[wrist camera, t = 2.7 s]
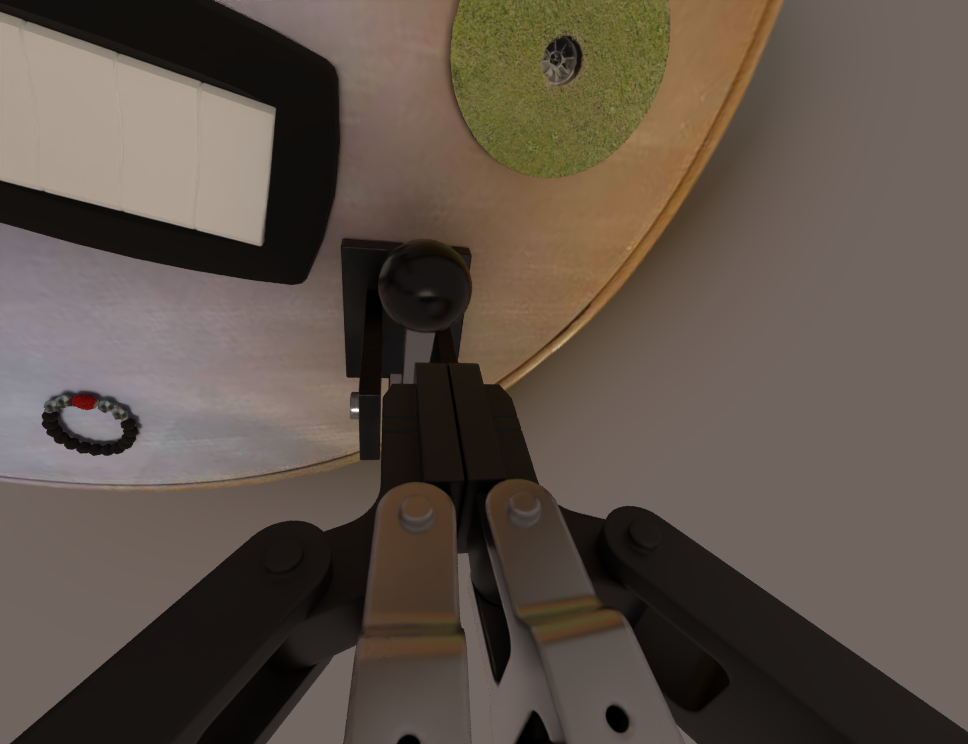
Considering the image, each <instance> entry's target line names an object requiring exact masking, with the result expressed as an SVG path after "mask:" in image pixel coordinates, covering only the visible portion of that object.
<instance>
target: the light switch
mask: <svg viewBox="0 0 968 744" xmlns="http://www.w3.org/2000/svg"><path fill="white" fill-rule="evenodd" d="M339 144H340V135H339V93H338V77H337V73H336V70H335V67H334V66H333V65H332V64H331V63H330V62H329V61H328V60H326V59H325V58H323V57H321V56H319V55H318V54H316V53H314V52H312V51H310V50H309V49H307V48H305V47H303V46H301V45H299V44H298V43H296V42H294V41H292V40H290V39H289V38H287V37H285V36H283V35H281V34H280V33H278V32H276V31H274V30H272V29H271V28H269V27H267V26H265V25H262V24H260V23H258V22H256V21H254V20H252V19H250V18H248V17H246V16H244V15H242V14H240V13H238V12H236V11H234V10H232V9H230V8H228V7H226V6H224V5H222V4H219V3H217V2H215V1H213V0H0V223H4V224H8V225H11V226H15V227H18V228H22V229H25V230H29V231H32V232H36V233H40V234H43V235H47V236H50V237H54V238H57V239H61V240H64V241H68V242H71V243H75V244H79V245H83V246H87V247H91V248H95V249H99V250H103V251H108V252H112V253H116V254H120V255H124V256H128V257H132V258H136V259H141V260H146V261H151V262H155V263H160V264H165V265H170V266H175V267H180V268H184V269H189V270H195V271H201V272H207V273H213V274H219V275H225V276H230V277H236V278H242V279H248V280H256V281H264V282H272V283H280V284H289V285H295V284H301V283H303V282H304V281H305V280H306V279H307V277H308V274H309V272H310V270H311V267H312V265H313V262H314V260H315V258H316V255H317V253H318V250H319V248H320V246H321V243H322V241H323V237H324V234H325V230H326V226H327V222H328V218H329V214H330V211H331V207H332V203H333V199H334V195H335V185H336V175H337V165H338V154H339Z"/></svg>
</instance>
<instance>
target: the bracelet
mask: <svg viewBox="0 0 968 744" xmlns="http://www.w3.org/2000/svg"><path fill="white" fill-rule="evenodd" d="M82 399H83V400H82ZM99 400H100V399H99ZM99 400H97V399H95V398H94V397H93V396H90V395H78V396H77V395H76V396H74V397H73V396H72V398H71V397H69V396H68V395H66V394H64V395H62V396H60V397H57V398H56V399H55V400H49V401H47V402H45V405H44V408H45V410H44V413H43V414H42V419H43V422H42V426H43V427H44V428H45V429H47V432H46V433H47V434H48V435H49V436H51V437H54V441H55V442H56V443H58V444H64V446H65V447H66V448H67V449H71V450H73V449H76V450H77V451H78V452H79V453H88V452H89V453H90V454H91V455H93V456H95V455H101V454H103V455H105V456H109V455H112V454H113V453H115V454H119V453H123V451H124V450H125V449H128V448H130V447H131V446H132V445H133V442H134V441H135V440H136V434H137V433H138V429H137V427H136V426H135V424H136V422H135V420H133V419H131V418H129V417H128V416H127V414H128V413H127V411H126V409H125V408H120V407H114V405H113V403H112V402H111V401H110V400H105V401H101V402H100V403H99ZM83 403H84V404H83ZM76 404H77V405H76ZM72 405H73V406H75V407H77V408H81V409H83V410H84V409H85V410H90V409H95V408H96V407H97V406H98V409H99V410H101V411H103V412H104V413H106V412H109V411H111V412H113V414H112V415H113V416H114V418H115V419H121V420H122V422H121V428H123V429H124V430H123V432H124V434H123V435H122V439H121V440H120V441H119V442H116V443H114V444H112V445H111V444H106V445H103V446H102V445H100V444H93V445H91V444H90V443H89V442H85V441H84V442H81V443H80V441H79V439H78V438H75V437H74V438H70V436H69V434H67V433H66V432H63V428H62V427H61V426H60V425H59V423H58V420H57V419H58V416H59V413H58V412H57V411H58V409H59V408H60V407H62V408H66V407H69V406H72Z"/></svg>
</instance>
